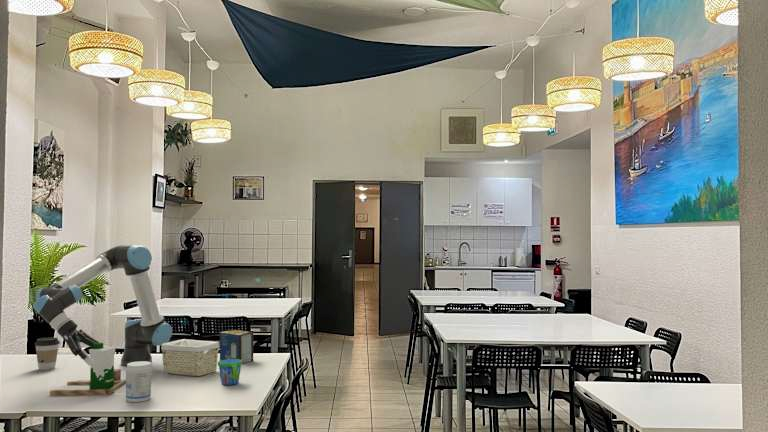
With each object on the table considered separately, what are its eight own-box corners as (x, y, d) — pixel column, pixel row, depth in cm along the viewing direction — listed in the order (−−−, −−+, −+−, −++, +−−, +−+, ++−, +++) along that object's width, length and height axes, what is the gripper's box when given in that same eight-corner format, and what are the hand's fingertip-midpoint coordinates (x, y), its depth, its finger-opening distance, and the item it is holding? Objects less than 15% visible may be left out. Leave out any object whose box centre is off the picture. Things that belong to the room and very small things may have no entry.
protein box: (234, 358, 336) (234, 329, 336) (253, 361, 327) (253, 332, 327) (219, 361, 327) (219, 331, 328) (238, 364, 318) (238, 334, 319)
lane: (125, 385, 273) (125, 380, 273) (110, 394, 256) (110, 390, 256) (68, 385, 272) (68, 381, 272) (49, 395, 255) (49, 390, 255)
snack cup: (214, 381, 280) (214, 359, 281) (237, 379, 285) (237, 357, 285) (221, 388, 266) (221, 365, 267) (245, 386, 271) (245, 363, 271)
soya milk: (99, 387, 269) (100, 341, 270) (117, 388, 268) (118, 342, 268) (85, 392, 261) (86, 344, 262) (104, 393, 259) (105, 345, 260)
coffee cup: (28, 370, 305) (29, 339, 305) (48, 365, 315) (49, 336, 316) (44, 372, 300) (45, 341, 301) (64, 367, 311) (65, 337, 311)
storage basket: (159, 373, 297) (159, 343, 297) (182, 367, 311) (183, 338, 312) (198, 378, 287) (198, 346, 288) (220, 371, 302) (220, 341, 302)
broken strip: (124, 381, 280) (125, 379, 280) (120, 384, 275) (120, 382, 275) (78, 382, 279) (78, 380, 279) (73, 384, 274) (73, 382, 274)
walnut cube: (120, 379, 280) (120, 368, 280) (116, 382, 275) (116, 371, 275) (109, 380, 280) (109, 369, 280) (104, 382, 275) (105, 371, 275)
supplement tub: (121, 400, 248) (121, 363, 248) (143, 395, 255) (143, 360, 256) (133, 404, 242) (133, 366, 242) (155, 399, 249) (156, 363, 249)
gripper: (71, 327, 276) (104, 360, 276) (42, 336, 251) (79, 372, 251) (83, 315, 277) (116, 348, 277) (56, 323, 252) (92, 359, 252)
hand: (98, 360), depth 264 cm, fingers open, 13 cm apart
